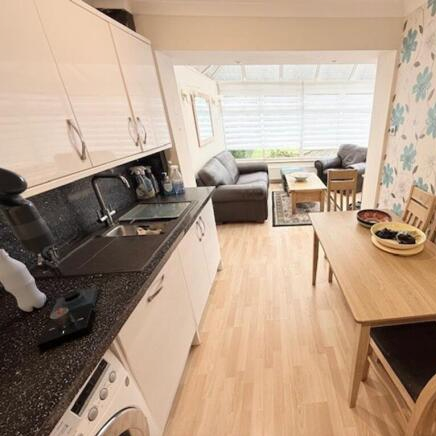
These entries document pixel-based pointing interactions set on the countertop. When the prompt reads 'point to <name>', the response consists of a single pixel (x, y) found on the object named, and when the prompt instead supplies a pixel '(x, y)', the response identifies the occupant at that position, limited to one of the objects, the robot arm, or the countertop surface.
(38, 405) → the countertop surface
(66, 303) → the button box
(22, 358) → the countertop surface
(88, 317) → the dial panel
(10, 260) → the water bottle
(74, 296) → the button
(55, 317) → the knob
